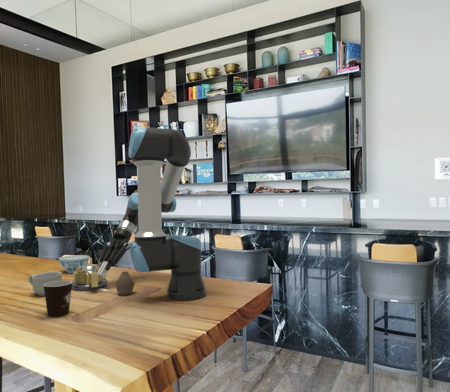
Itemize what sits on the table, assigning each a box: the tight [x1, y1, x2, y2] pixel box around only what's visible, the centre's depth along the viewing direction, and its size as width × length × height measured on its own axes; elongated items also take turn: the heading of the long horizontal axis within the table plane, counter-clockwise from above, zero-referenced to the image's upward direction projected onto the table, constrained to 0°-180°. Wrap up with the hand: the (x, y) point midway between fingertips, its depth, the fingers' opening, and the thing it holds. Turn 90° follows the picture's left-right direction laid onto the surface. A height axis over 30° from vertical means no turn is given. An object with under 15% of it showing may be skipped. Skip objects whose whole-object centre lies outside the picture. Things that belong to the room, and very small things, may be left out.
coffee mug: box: [44, 280, 73, 318], centre depth 119 cm, size 12×9×10 cm
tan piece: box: [73, 266, 106, 287], centre depth 151 cm, size 20×12×5 cm, turn 30°
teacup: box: [28, 271, 63, 297], centre depth 144 cm, size 14×11×8 cm
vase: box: [115, 270, 135, 296], centre depth 141 cm, size 7×7×9 cm
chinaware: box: [58, 254, 90, 274], centre depth 187 cm, size 15×15×8 cm
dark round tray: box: [71, 264, 109, 292], centre depth 155 cm, size 15×15×9 cm
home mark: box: [98, 288, 110, 292], centre depth 147 cm, size 5×1×1 cm, turn 51°
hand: (99, 276), depth 148 cm, fingers closed
